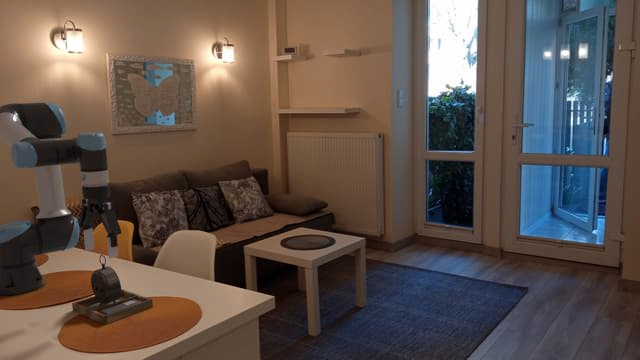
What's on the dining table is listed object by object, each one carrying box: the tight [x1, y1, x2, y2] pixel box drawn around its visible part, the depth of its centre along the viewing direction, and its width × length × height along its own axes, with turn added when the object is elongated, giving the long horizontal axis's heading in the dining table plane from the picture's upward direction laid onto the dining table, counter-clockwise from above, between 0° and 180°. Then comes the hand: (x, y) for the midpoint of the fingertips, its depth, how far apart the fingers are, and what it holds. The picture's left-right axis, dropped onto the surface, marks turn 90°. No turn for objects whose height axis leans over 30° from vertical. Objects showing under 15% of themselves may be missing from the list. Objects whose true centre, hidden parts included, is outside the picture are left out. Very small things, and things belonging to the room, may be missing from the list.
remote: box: [101, 299, 141, 315], centre depth 154 cm, size 4×11×2 cm, turn 142°
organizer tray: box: [71, 288, 154, 325], centre depth 157 cm, size 18×16×3 cm
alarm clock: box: [90, 254, 122, 307], centre depth 159 cm, size 11×5×16 cm, turn 50°
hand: (101, 253), depth 158 cm, fingers open, 13 cm apart
